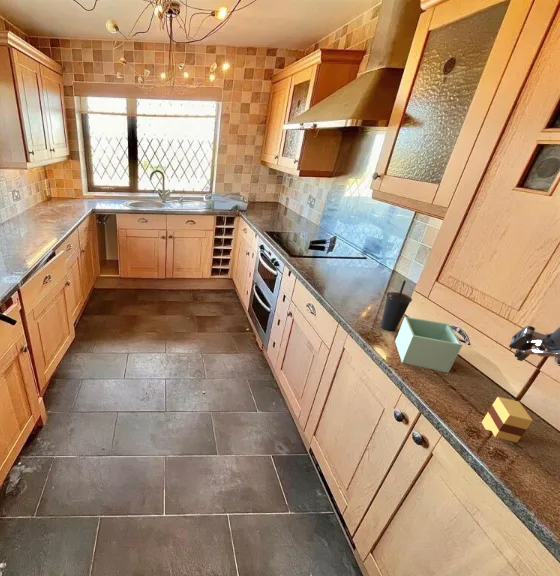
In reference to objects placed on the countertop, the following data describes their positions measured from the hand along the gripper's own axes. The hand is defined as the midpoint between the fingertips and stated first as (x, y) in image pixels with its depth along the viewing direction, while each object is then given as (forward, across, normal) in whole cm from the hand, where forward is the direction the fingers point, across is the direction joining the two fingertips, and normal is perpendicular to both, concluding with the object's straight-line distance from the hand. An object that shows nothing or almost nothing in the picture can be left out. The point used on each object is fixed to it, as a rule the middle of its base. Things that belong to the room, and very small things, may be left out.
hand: (550, 366), depth 61 cm
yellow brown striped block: (+24, -1, +10) cm, 26 cm away
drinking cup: (+45, +30, -17) cm, 56 cm away
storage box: (+37, +18, -8) cm, 42 cm away
